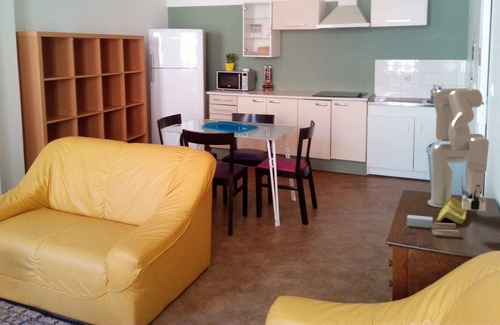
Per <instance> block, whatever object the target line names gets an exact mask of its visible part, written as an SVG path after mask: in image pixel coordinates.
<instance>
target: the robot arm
mask: <svg viewBox="0 0 500 325" xmlns="http://www.w3.org/2000/svg"><path fill="white" fill-rule="evenodd" d="M483 99H484V98H483V95H482V92H481V91H480V90H478V89H475V88H470V87H469V88H468V87H465V88H461V87H459V88H452V87H451V88H440V89H438V90H436V91H435V92H434V94H433V105H434V109H435V113H436V117H435V118H436V121H435V122H436V123H435V136H436V140H438V141H440V142H449V143H439V144H435V145H434V146H433V147H432V149H431V158H432V174H431V175H432V176H431V177H432V178H431V193H430V194H431V195H430V199H428V200H427V204H428V206H429V205H430V206H431V207H434V208H441V209H442V208H443V206H444V205H445V203H446V202H447V200H448V199H449V198H450V197H452V187H453V186H452V185H453V184H452V183H453V169H452V168H451V166H450V165H449V164H452V163H453V164H455V163H456V164H457V163H459V164H460V163H461V164H462V163H466V162H467V166H466V168H467V169H466V170H467V177H466V183H465V184H466V185H465V189H466V191H467V192H468V198H469V199H472V200H471V209H472V210H471V211H478V210H479V204H480V199H481V198H480V197H481V195H482V194H483V191H484V175H485V172H487V167H488V159H489V158H488V157H489V155H488V154H489V146H490V141H489V138H486V137H485V136H484V135H483V134H481V133H471V131H470V130H471V129H470V126H469V125H468V124H469V123H471V122H472V121H473V120H474V119H475V113H474V110H473V109H474V108H480V107H481V106H482V103H483Z"/></svg>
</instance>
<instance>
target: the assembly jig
mask: <svg viewBox="0 0 500 325" xmlns="http://www.w3.org/2000/svg"><path fill="white" fill-rule="evenodd" d="M430 230H431V233H432V235H433V236H434V237H446V238H449V237H450V238H453V237H454V238H461V234H460V230H458V228H457V223H452V222H451V223H449V222H448V223H447V222H432V227H431V228H430Z"/></svg>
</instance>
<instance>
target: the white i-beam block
mask: <svg viewBox="0 0 500 325" xmlns="http://www.w3.org/2000/svg"><path fill="white" fill-rule="evenodd" d="M461 197H462V198H461V202H462V209H464V210H467V211H473V210H472V209H471V200H472V199H469V198H467V195H466V194H462V196H461ZM486 208H487V198H486V196H485V195H481V198H480V204H479V210H477V212H478V211H479V212H480V211H481V212H486V211H487V210H486Z"/></svg>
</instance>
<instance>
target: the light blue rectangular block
mask: <svg viewBox="0 0 500 325" xmlns="http://www.w3.org/2000/svg"><path fill="white" fill-rule="evenodd" d="M433 218H434V217H433V216H423V215H416V214H415V215H413V214H412V215H411V214H407V217H406V226H407V227H418V228H427V229H431V227H432V223H433Z"/></svg>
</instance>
